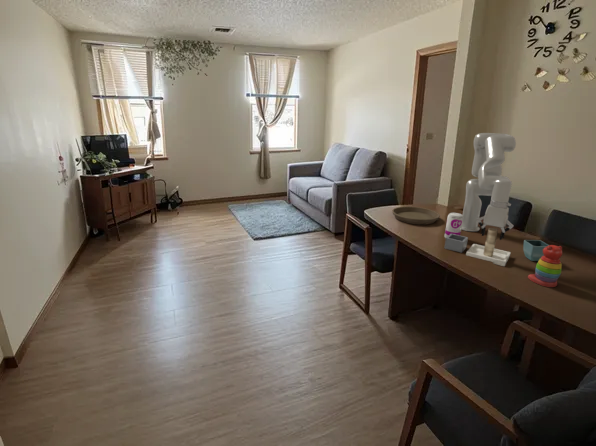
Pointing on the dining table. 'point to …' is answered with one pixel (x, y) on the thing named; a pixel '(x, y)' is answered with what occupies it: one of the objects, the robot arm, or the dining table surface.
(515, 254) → the dining table surface
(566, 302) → the dining table surface
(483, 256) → the white tray
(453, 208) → the dining table surface
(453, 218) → the supplement can
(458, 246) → the grey open box
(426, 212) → the plant saucer
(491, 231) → the birch peg
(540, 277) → the stacking bear
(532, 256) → the flower pot
